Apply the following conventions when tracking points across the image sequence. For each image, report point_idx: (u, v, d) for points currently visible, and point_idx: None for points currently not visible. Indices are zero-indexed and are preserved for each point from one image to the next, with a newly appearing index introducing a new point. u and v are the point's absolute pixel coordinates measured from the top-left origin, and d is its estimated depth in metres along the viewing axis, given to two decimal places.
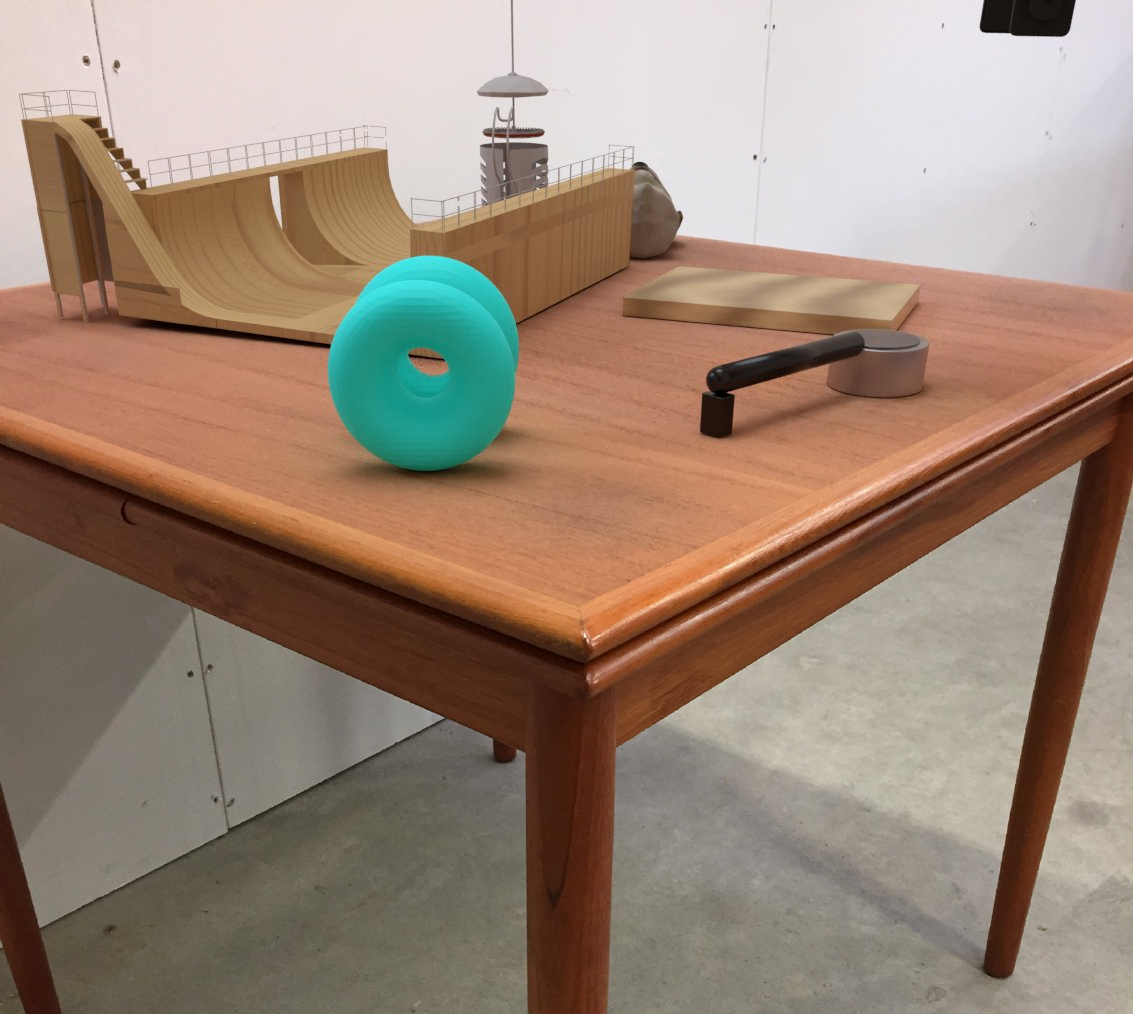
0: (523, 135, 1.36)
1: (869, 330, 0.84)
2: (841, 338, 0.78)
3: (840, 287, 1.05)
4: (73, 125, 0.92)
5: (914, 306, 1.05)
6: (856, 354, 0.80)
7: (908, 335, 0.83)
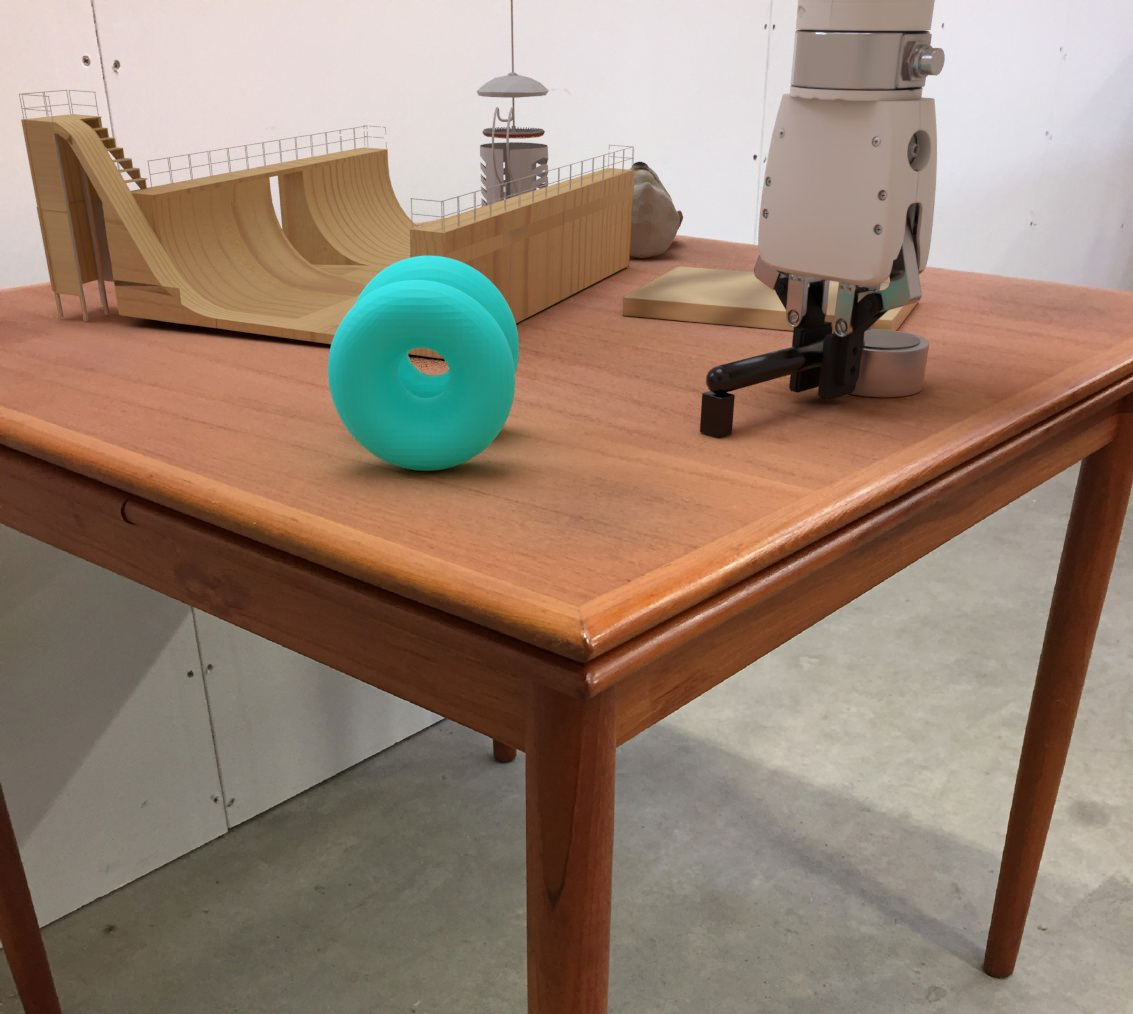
0: (523, 135, 1.36)
1: (869, 330, 0.84)
2: None
3: None
4: (73, 125, 0.92)
5: (914, 306, 1.05)
6: None
7: (908, 335, 0.83)
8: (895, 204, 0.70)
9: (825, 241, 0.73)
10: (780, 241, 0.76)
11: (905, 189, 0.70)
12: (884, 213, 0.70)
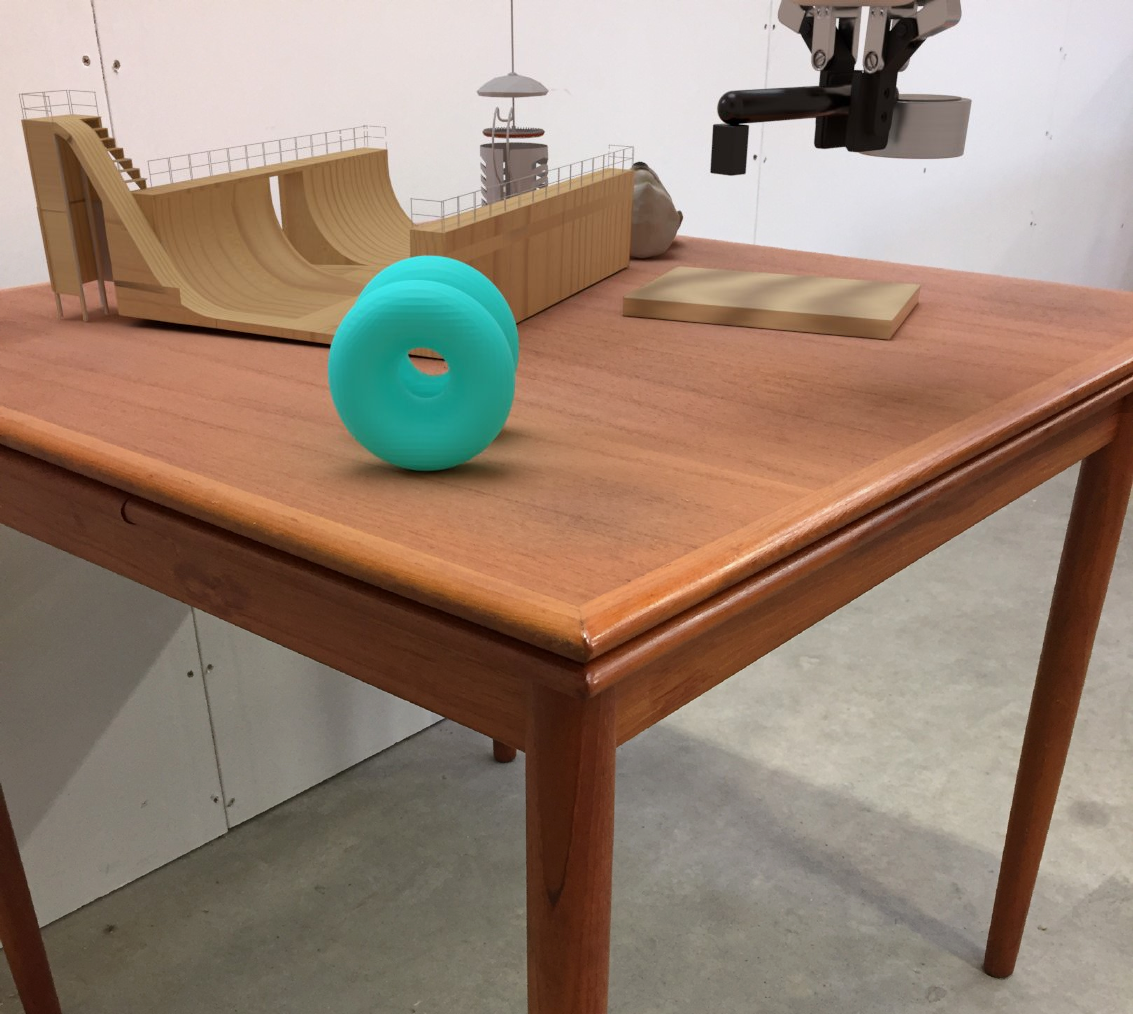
0: (523, 135, 1.36)
1: (906, 94, 0.76)
2: None
3: (840, 287, 1.05)
4: (73, 125, 0.92)
5: (914, 306, 1.05)
6: None
7: (949, 95, 0.75)
8: None
9: None
10: None
11: None
12: None
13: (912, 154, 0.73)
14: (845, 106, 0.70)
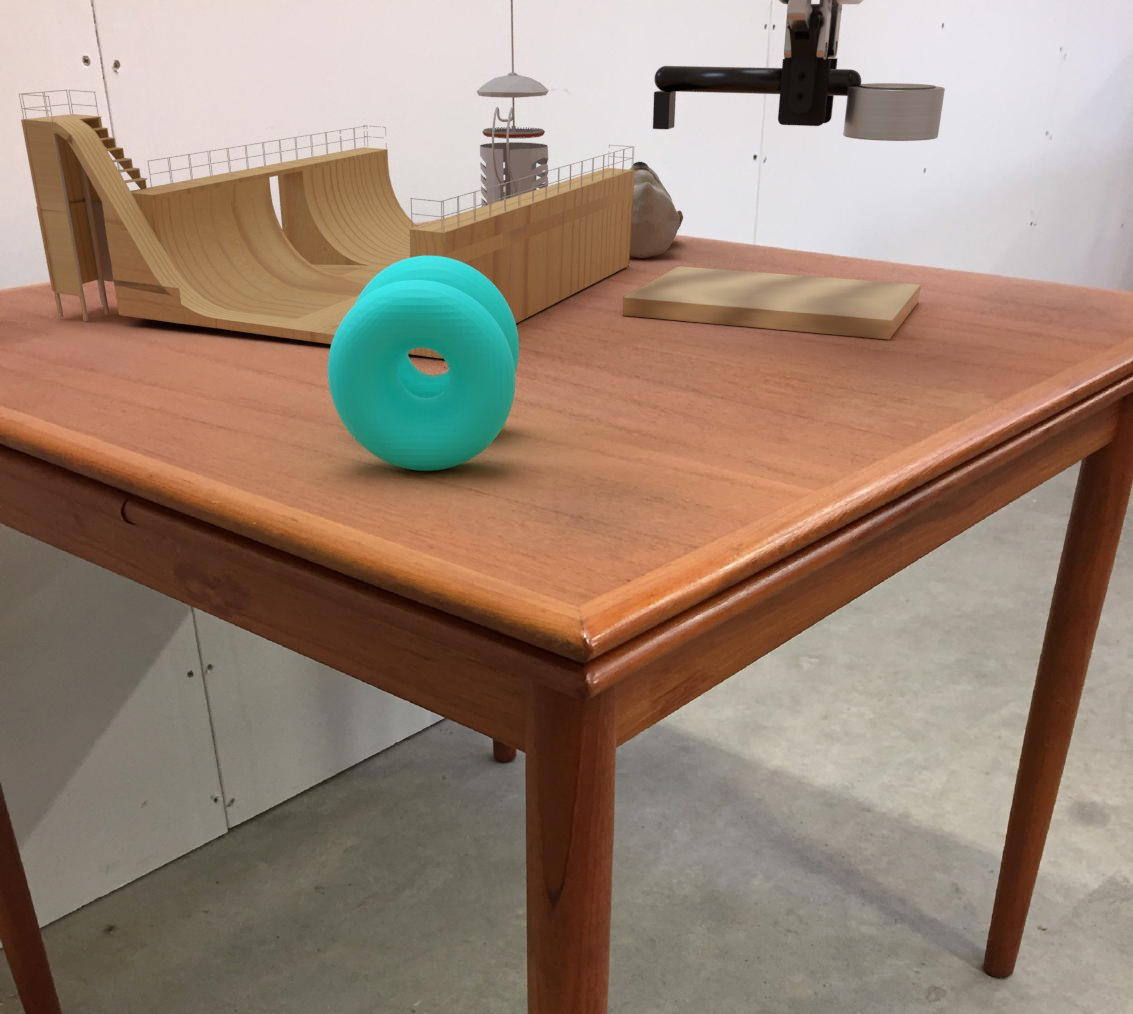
0: (523, 135, 1.36)
1: (919, 84, 0.84)
2: None
3: (840, 287, 1.05)
4: (73, 125, 0.92)
5: (914, 306, 1.05)
6: (842, 91, 0.84)
7: (926, 86, 0.82)
8: None
9: None
10: None
11: None
12: None
13: (849, 133, 0.84)
14: (780, 86, 0.85)
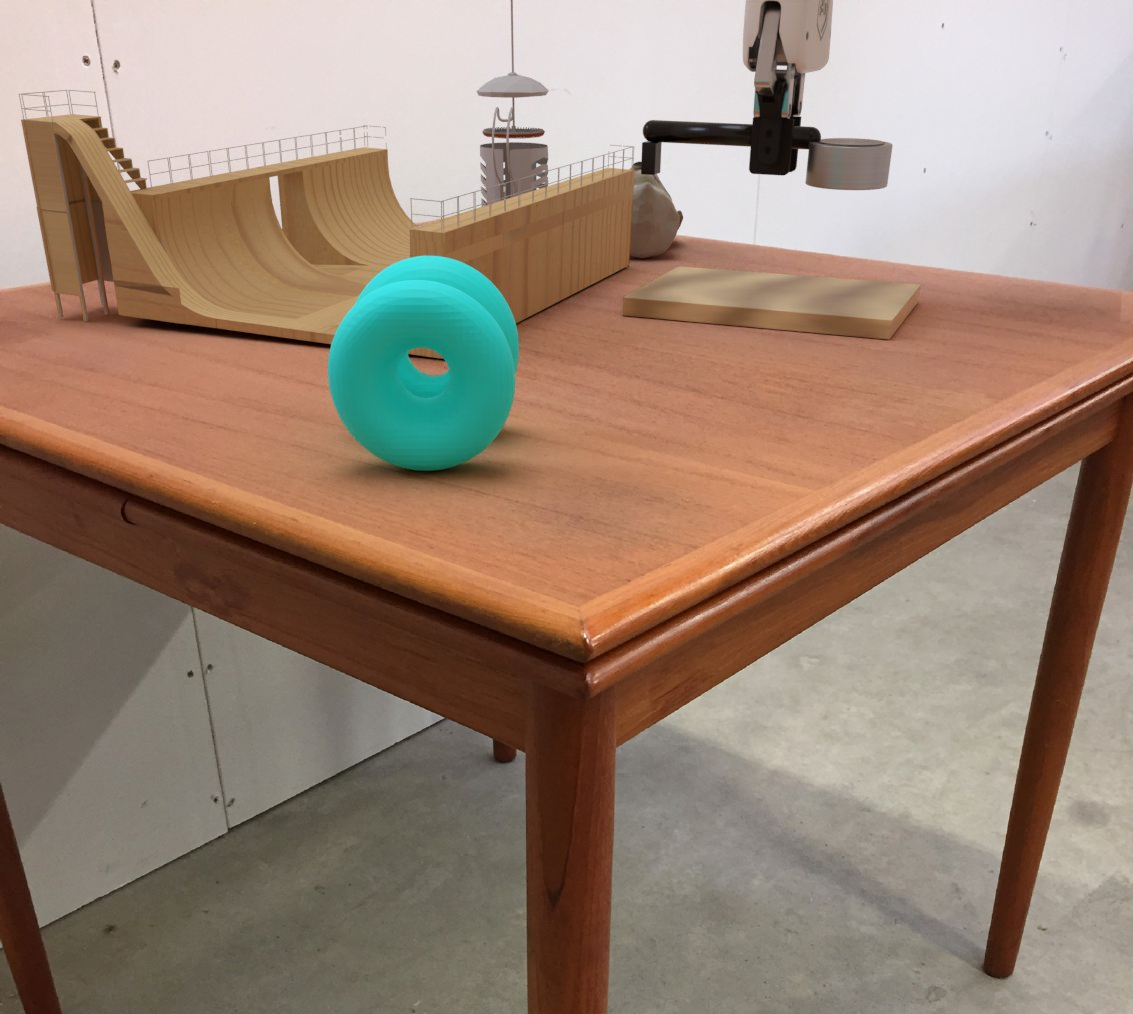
0: (523, 135, 1.36)
1: None
2: None
3: (840, 287, 1.05)
4: (73, 125, 0.92)
5: (914, 306, 1.05)
6: (804, 145, 0.97)
7: (875, 143, 0.95)
8: None
9: None
10: None
11: None
12: (745, 7, 0.90)
13: (809, 182, 0.97)
14: None
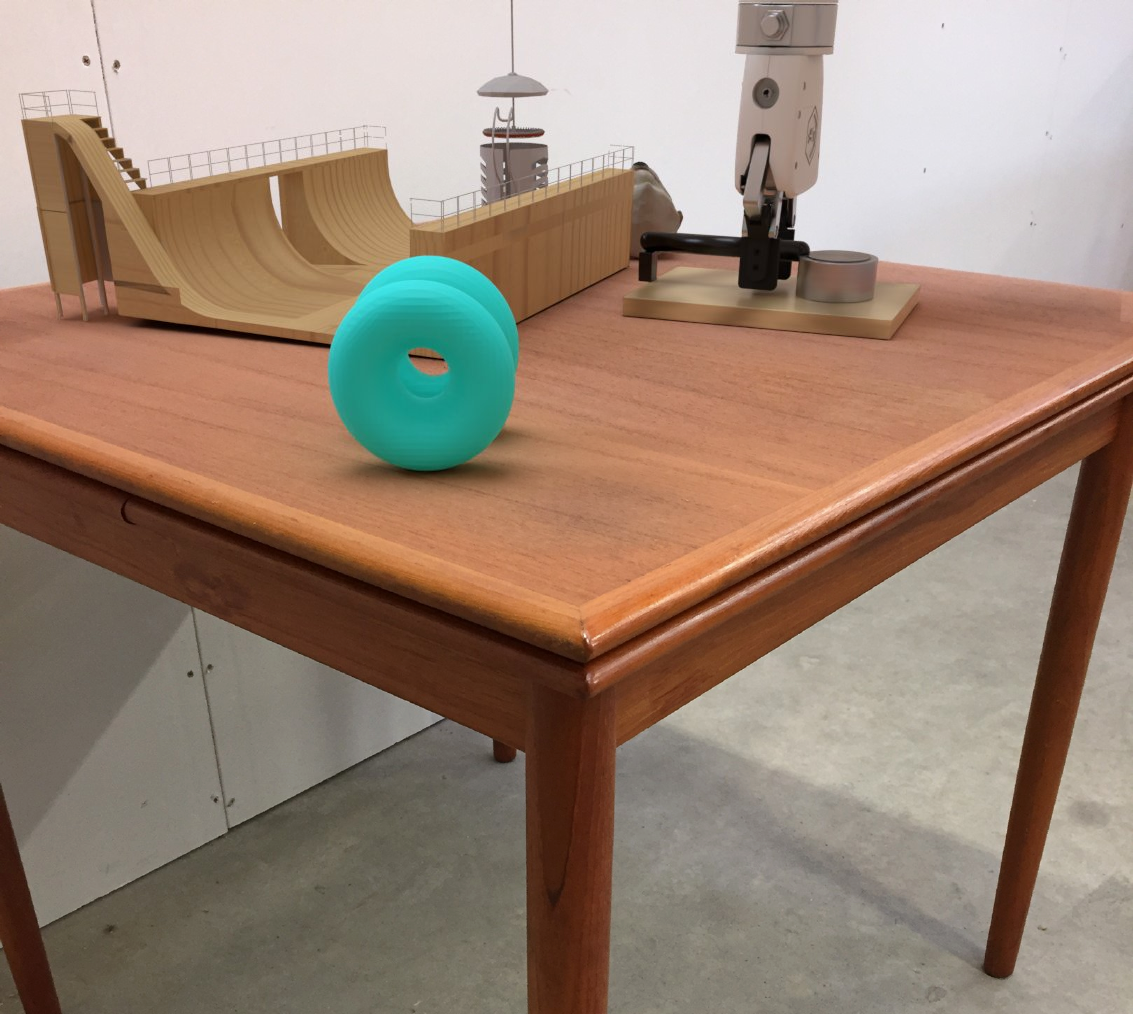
0: (523, 135, 1.36)
1: (859, 252, 1.01)
2: None
3: None
4: (73, 125, 0.92)
5: (914, 306, 1.05)
6: (794, 258, 1.01)
7: (862, 258, 0.99)
8: (741, 132, 0.94)
9: None
10: None
11: (749, 121, 0.93)
12: None
13: (799, 294, 1.01)
14: None
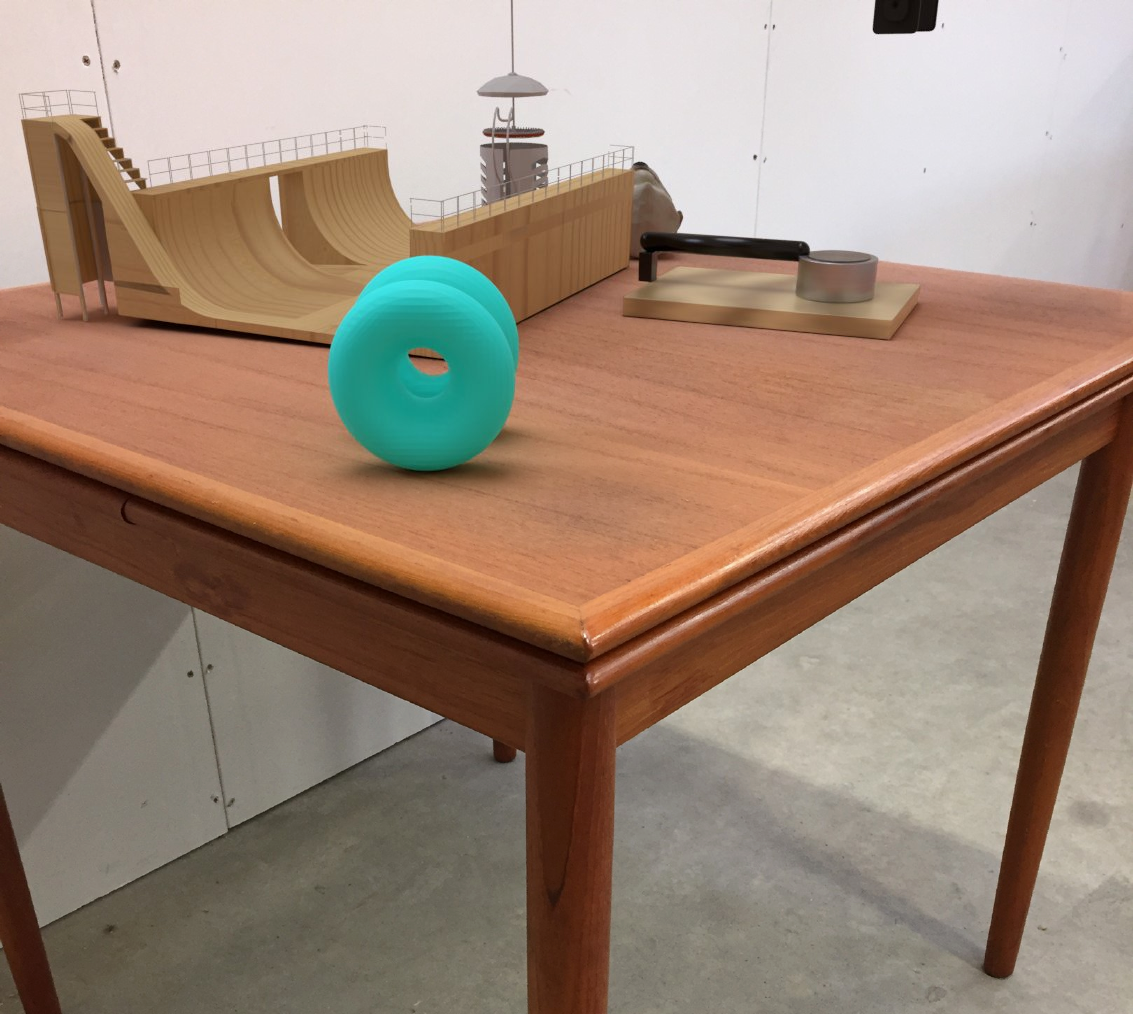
0: (523, 135, 1.36)
1: (859, 252, 1.01)
2: (778, 241, 1.01)
3: None
4: (73, 125, 0.92)
5: (914, 306, 1.05)
6: (794, 258, 1.01)
7: (862, 258, 0.99)
8: None
9: None
10: None
11: None
12: None
13: (799, 294, 1.01)
14: (743, 252, 1.02)
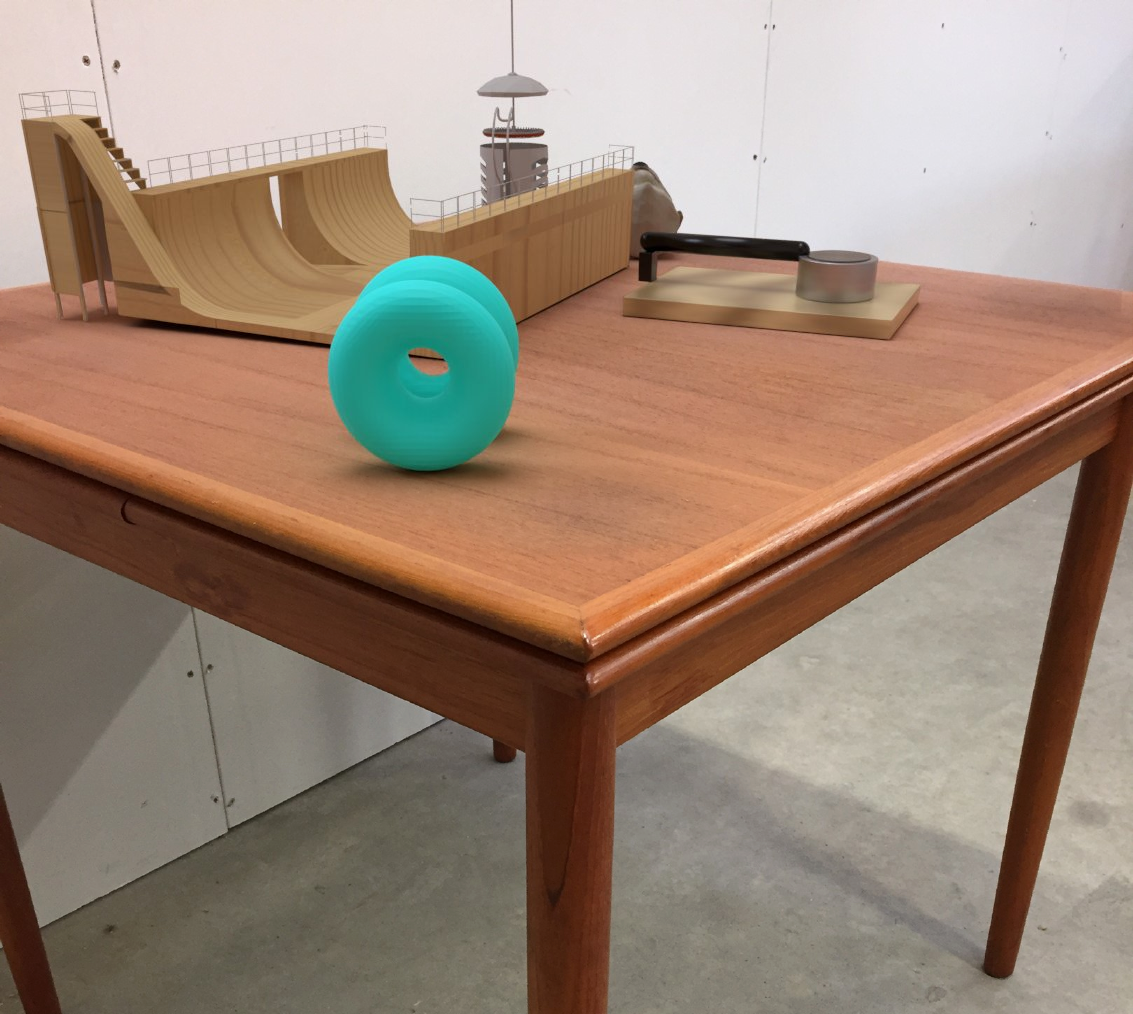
0: (523, 135, 1.36)
1: (859, 252, 1.01)
2: (778, 241, 1.01)
3: None
4: (73, 125, 0.92)
5: (914, 306, 1.05)
6: (794, 258, 1.01)
7: (862, 258, 0.99)
8: None
9: None
10: None
11: None
12: None
13: (799, 294, 1.01)
14: (743, 252, 1.02)
